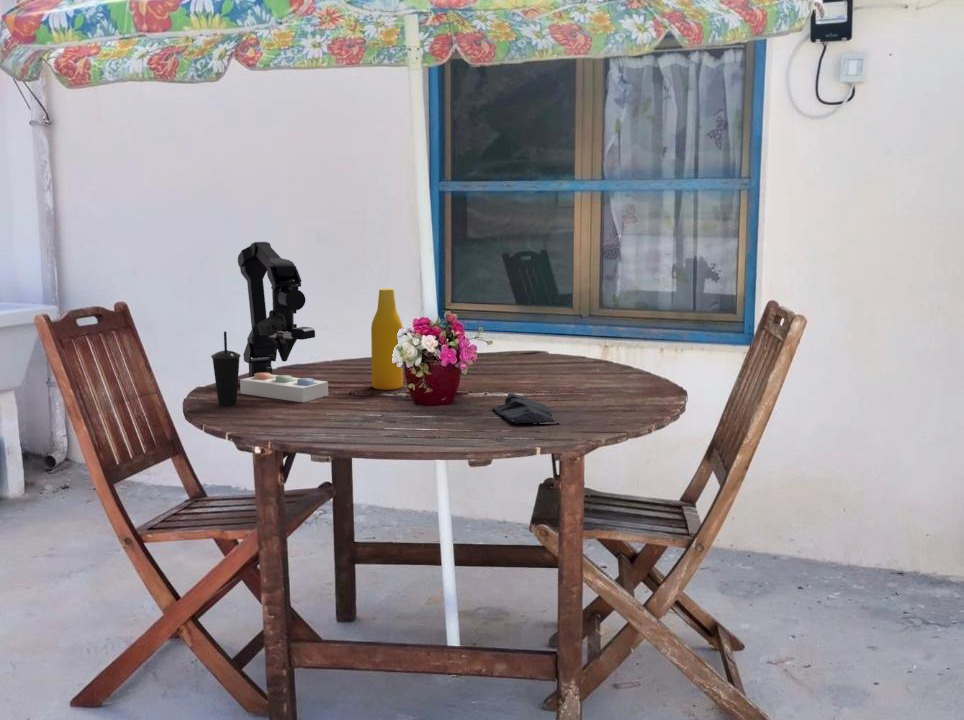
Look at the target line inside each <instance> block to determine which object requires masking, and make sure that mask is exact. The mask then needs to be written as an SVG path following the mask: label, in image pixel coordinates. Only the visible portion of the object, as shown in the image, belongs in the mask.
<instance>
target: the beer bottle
mask: <svg viewBox="0 0 964 720" xmlns="http://www.w3.org/2000/svg"><path fill="white" fill-rule="evenodd" d="M395 297H396V295H395V290H394V288H379V291H378V301H377V309H376V312H375V314H374V316H373V320H372V321H371V326H370V327H371V328H370V329H371V330H370V331H371V335H370V336H371V339H370V340H371V347H370V348H371V387H372V388H373V389H376V390H381V391H382V390H384V391H385V390H386V391H388V390H390V391H391V390H398V389H401V388H403V384H404V371H403V369H404V367H403V368H400V367H397V366H396V365H395V364H393V363H392V354H393V350H394V347H395V346H396V345H397V344H398V339H397V333H398V331H399V329H401V328H402V329H403V323H402V320H401V318H400V315H399V313H398V310H397V306H396V305H397V304H396V298H395Z"/></svg>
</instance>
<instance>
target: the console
mask: <svg viewBox="0 0 964 720" xmlns="http://www.w3.org/2000/svg"><path fill="white" fill-rule="evenodd" d="M276 376H280V375H278V374H277V375H276V374H273V373H272V374H271V379H267V380H258V379H254V377H250V378H249V377H246V378H242V379H239V385H240V390H239V391H240V394H241V395H248V396H255V397H262V398H263V397H264V398H268V399H269V398H271V399H277V400H283V401H290V402H291V401H292V402H298V403H306V402H309V401H314V400H317V398H318V399H321V398H324V396H325V397H329V382H328V381H325V380H318V379H314V384H313V385H309V386H302V385H297V379H300V378H301V377H294V376H292V382H287V383H280V382H276Z"/></svg>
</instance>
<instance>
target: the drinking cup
mask: <svg viewBox="0 0 964 720" xmlns="http://www.w3.org/2000/svg"><path fill="white" fill-rule="evenodd" d="M227 334H228V333H227V331H223V341H224V342H223V348H224V349H223V350H220V351H218V352H215V353H213V354H211V356H210V357H211V359H212V365H213V371H214V372H213V373H214V380H215V388H216V395H217V402H218V403H217V404H218V406H220V407H234V406H237V404H238V390H239V388H238V387H239V372H240V358H241V354H240V353H238V352H236V351H233V350H228V341H227V340H228V339H227V336H228V335H227Z"/></svg>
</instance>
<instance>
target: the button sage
mask: <svg viewBox="0 0 964 720" xmlns="http://www.w3.org/2000/svg"><path fill="white" fill-rule="evenodd" d="M292 377H293V376H292V375H290V374H289V375H288V374H287V375H286V374H285V375H284V374H283V375H279V376H276V382H280V383H287V382H292Z"/></svg>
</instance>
